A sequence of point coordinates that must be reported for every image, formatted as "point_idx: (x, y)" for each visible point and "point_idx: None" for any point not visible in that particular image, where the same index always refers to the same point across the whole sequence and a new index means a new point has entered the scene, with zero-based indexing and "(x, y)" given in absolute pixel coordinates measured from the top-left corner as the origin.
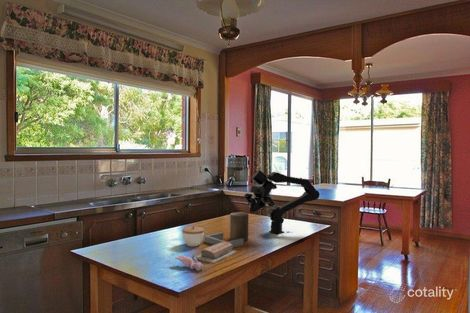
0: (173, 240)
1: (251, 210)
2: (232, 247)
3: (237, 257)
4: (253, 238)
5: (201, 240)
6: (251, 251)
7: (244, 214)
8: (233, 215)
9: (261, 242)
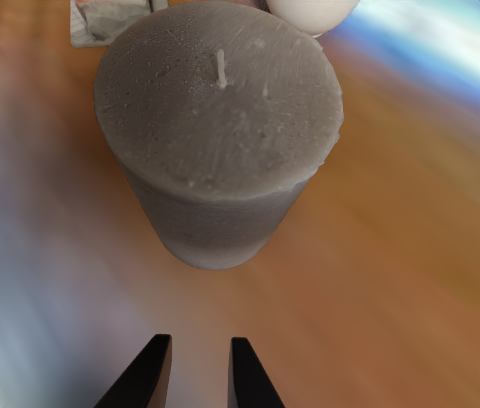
0: (403, 13)
1: (229, 386)
2: (88, 25)
3: (31, 11)
4: (161, 308)
5: (268, 3)
6: (16, 96)
7: (137, 89)
8: (218, 5)
9: (53, 267)
